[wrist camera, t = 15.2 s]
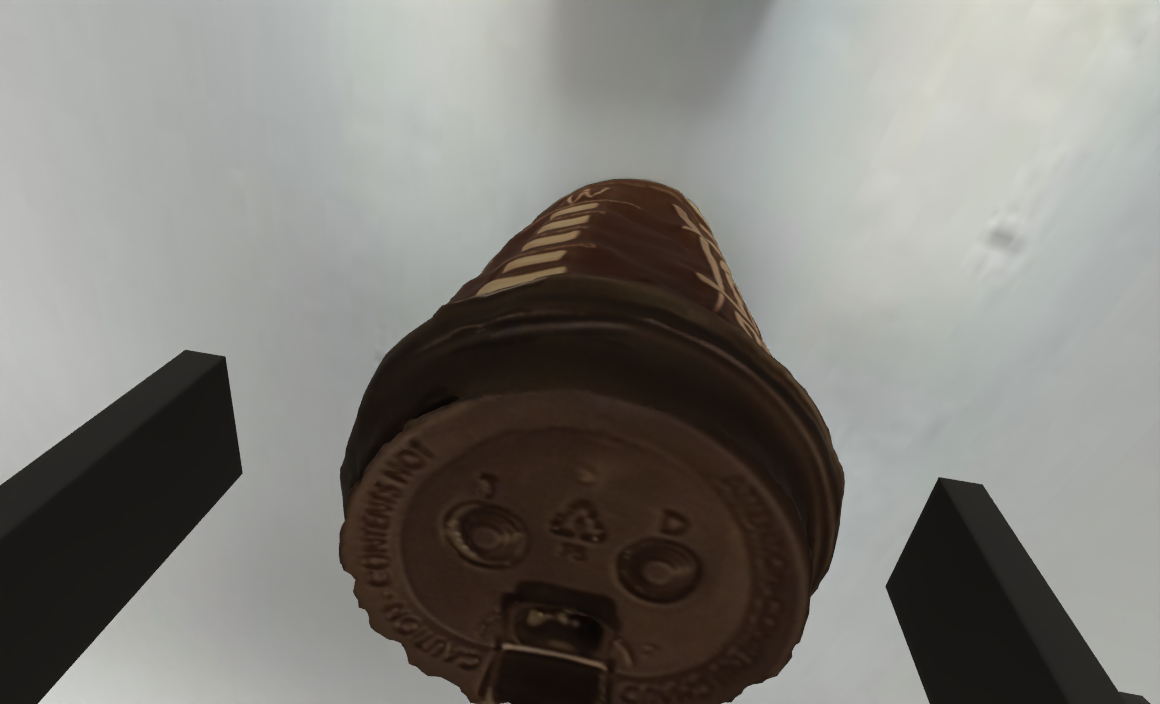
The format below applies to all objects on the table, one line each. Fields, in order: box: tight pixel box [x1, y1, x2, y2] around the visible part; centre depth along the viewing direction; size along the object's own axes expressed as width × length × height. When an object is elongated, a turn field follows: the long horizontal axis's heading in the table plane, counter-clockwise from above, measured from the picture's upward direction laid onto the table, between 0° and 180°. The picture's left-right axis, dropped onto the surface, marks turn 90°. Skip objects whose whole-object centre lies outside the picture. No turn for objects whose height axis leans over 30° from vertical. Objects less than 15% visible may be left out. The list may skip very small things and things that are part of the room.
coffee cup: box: [339, 179, 845, 704], centre depth 16 cm, size 9×8×13 cm
